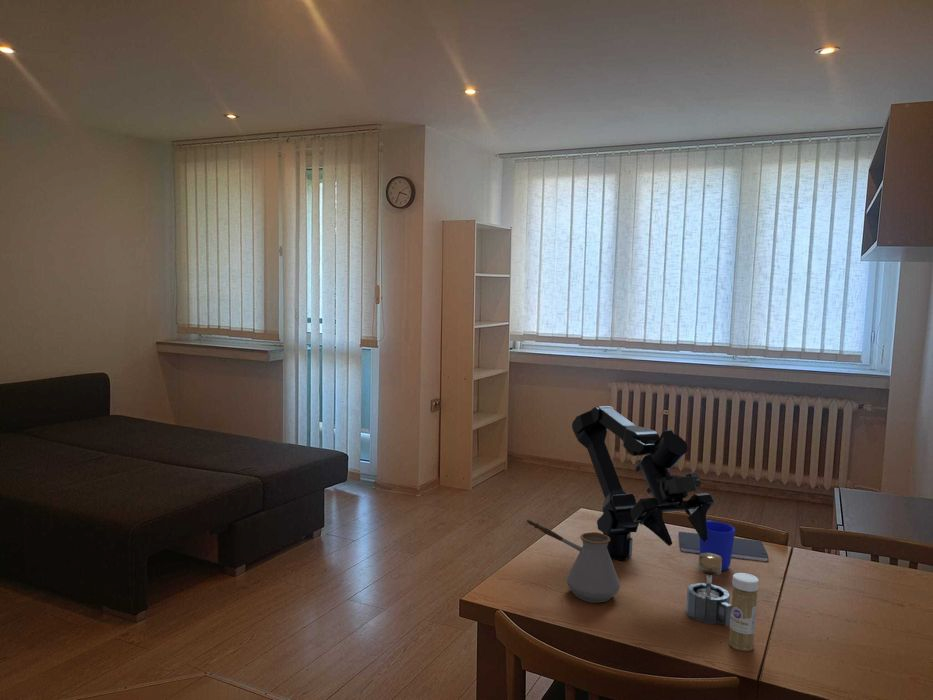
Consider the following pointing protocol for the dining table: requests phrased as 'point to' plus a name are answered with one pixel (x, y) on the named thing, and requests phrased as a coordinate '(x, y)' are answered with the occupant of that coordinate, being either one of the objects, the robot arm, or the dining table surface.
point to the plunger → (709, 572)
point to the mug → (719, 541)
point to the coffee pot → (590, 567)
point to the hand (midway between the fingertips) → (688, 542)
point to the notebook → (740, 549)
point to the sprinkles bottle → (743, 611)
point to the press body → (708, 605)
